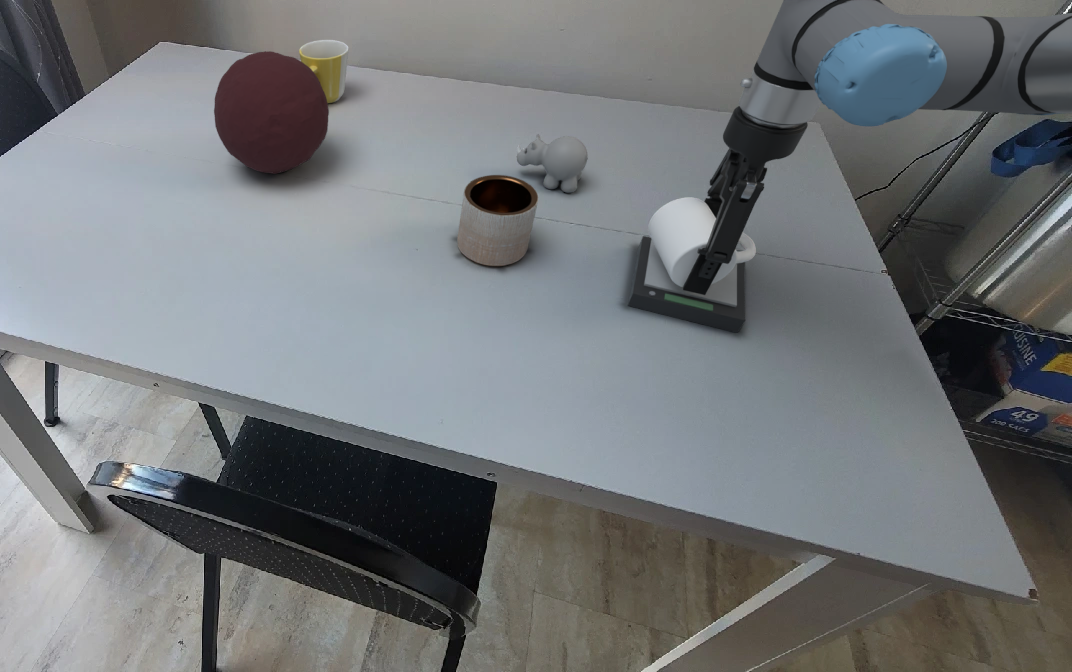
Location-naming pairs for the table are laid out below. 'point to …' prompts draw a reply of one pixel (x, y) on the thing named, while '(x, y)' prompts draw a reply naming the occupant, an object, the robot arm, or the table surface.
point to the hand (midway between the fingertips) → (695, 264)
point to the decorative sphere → (271, 112)
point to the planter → (496, 219)
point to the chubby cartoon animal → (556, 160)
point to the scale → (687, 293)
